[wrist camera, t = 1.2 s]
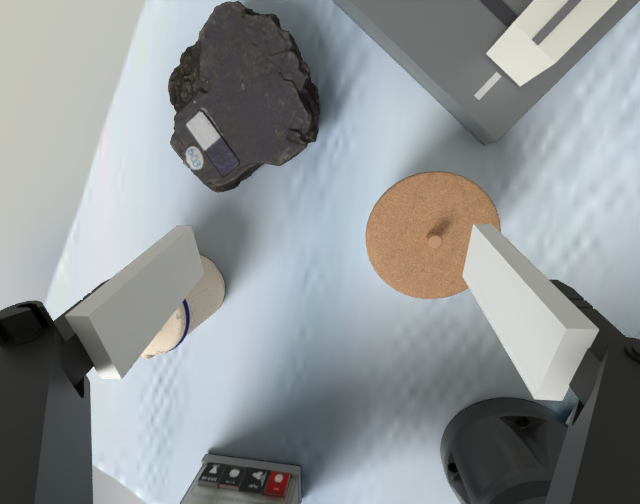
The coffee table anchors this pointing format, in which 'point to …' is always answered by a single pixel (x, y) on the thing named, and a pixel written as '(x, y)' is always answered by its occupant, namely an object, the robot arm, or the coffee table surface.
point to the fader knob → (544, 35)
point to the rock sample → (241, 98)
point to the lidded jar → (426, 232)
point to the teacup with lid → (190, 311)
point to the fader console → (467, 54)
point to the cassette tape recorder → (244, 482)
